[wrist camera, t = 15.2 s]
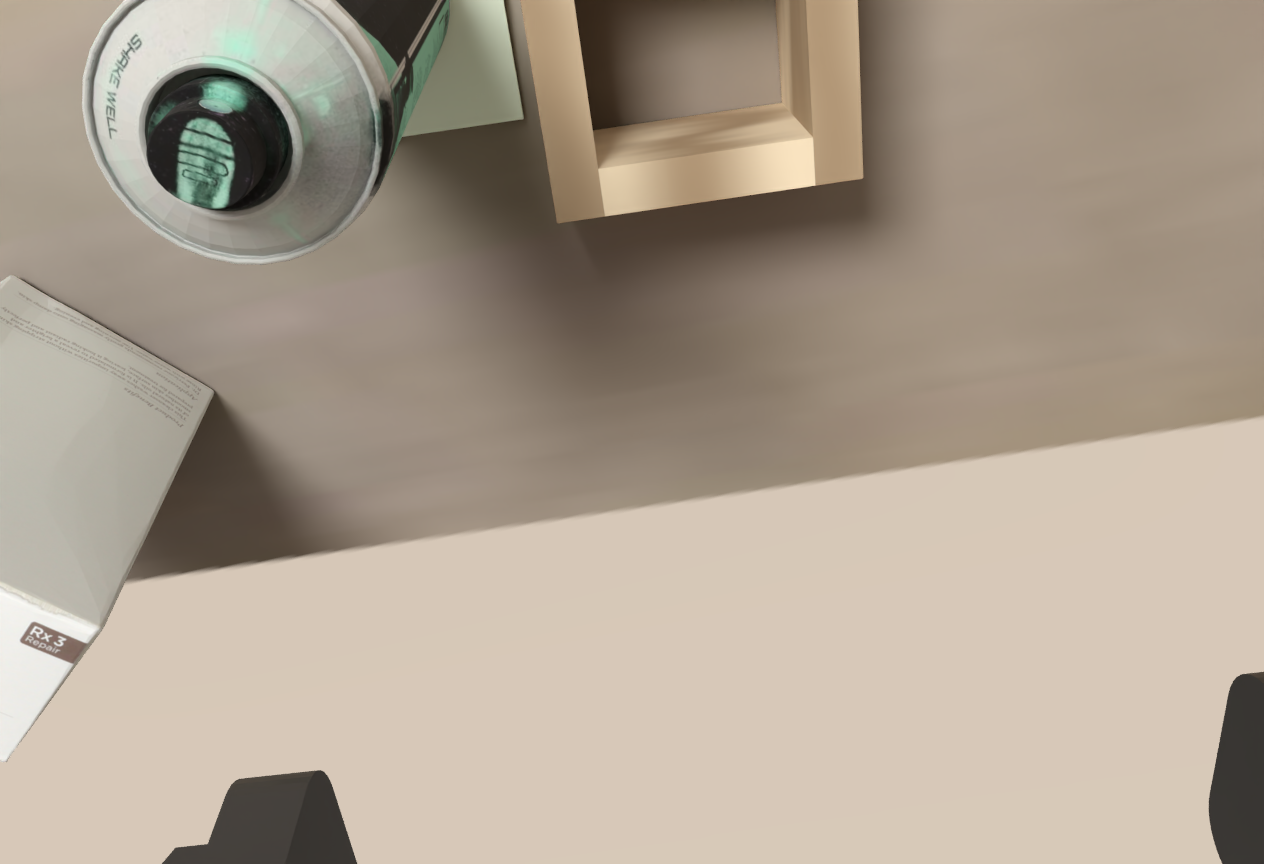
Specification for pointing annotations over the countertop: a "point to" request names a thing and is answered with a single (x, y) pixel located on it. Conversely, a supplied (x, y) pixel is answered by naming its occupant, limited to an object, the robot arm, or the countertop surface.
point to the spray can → (255, 115)
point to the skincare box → (74, 485)
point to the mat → (470, 73)
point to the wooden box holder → (702, 122)
